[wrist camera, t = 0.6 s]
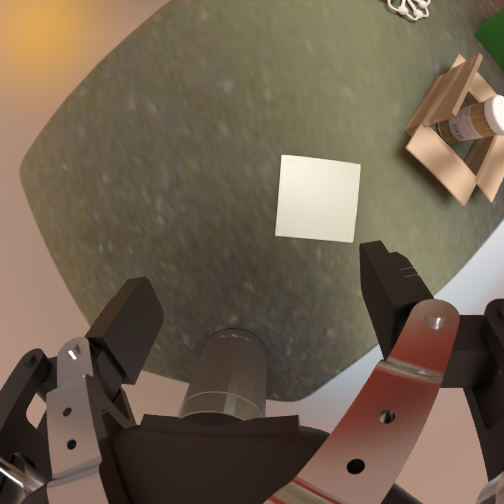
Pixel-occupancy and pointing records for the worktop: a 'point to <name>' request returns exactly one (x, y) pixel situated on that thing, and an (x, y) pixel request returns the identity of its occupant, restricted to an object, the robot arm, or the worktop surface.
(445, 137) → the sprinkles bottle
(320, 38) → the worktop surface
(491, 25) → the hardback book
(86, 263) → the worktop surface
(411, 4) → the tangled rod sculpture
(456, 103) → the carton
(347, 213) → the coaster
